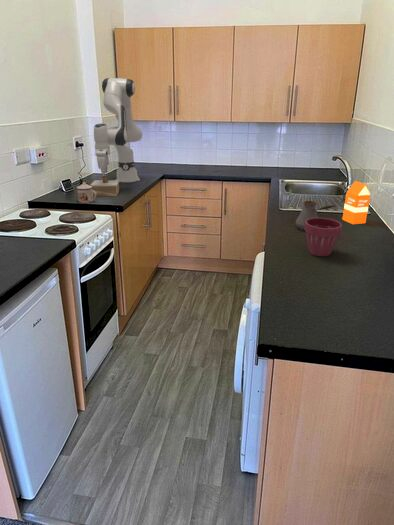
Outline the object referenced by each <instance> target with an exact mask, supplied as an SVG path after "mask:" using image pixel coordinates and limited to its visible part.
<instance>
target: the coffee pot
mask: <svg viewBox="0 0 394 525" xmlns="http://www.w3.org/2000/svg"><path fill="white" fill-rule="evenodd" d="M302 204H303V207H302V210H301V211H300V213H299V214H298V216H297V218H296V220H295V225H296V226H297V228H298V229H299V230H302V231H305V222H306V220H308V219H310V218H319V216H318V213H317V211H321V210H327V209H332V211H335V208H337V206H335V205H334V204H333V205H328V206H327V205H326V206H323V207H318V208H316V206H317V204H318V202H316V201H312V200H305V201H303V202H302Z"/></svg>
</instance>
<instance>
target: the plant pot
mask: <svg viewBox="0 0 394 525" xmlns="http://www.w3.org/2000/svg"><path fill="white" fill-rule="evenodd" d="M342 227H343V224H342V222H340V221H338V220H336V219H332V218H327V217H318V218H310V219H308V220H306V222H305V230H304V232H305V233H306V244H307V251H308V253H309V254H311V255H313V256H317V257H327V256H330V255H331V254H332V251H333V250H334V247H335V244H336V241H337V239H338V236H340V235H341V234H342Z"/></svg>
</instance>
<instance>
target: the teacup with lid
mask: <svg viewBox="0 0 394 525" xmlns="http://www.w3.org/2000/svg"><path fill="white" fill-rule="evenodd" d="M76 190H77V191H76V192H77V199H78V202H79V203H87V204H92V203H93V202H94V199H96V198H97V196H96V192H95V191H93V190H92V186H91V185H89V184H87V183H86V182H82V184H80V185H79V186H76ZM92 192H94V194H95V196H93V193H92Z"/></svg>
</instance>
